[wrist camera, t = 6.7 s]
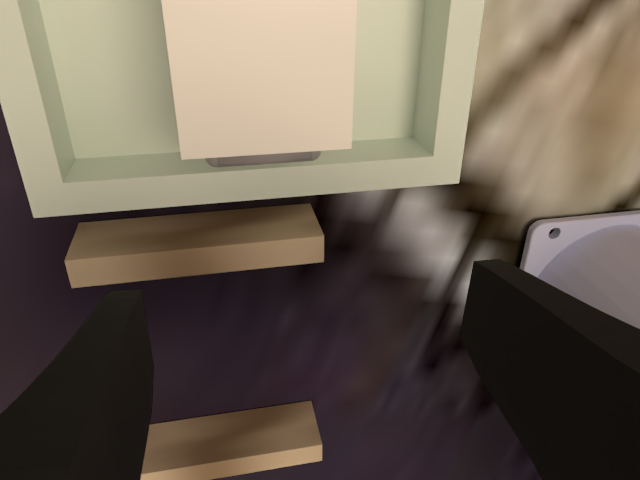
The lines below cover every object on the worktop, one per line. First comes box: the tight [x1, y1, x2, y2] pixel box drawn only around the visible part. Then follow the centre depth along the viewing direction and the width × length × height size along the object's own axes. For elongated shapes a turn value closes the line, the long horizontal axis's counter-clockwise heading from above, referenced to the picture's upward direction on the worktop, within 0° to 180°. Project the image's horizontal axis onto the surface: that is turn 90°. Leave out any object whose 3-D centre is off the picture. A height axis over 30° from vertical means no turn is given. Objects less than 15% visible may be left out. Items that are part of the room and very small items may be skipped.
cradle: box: [64, 203, 324, 480], centre depth 21 cm, size 8×11×2 cm
